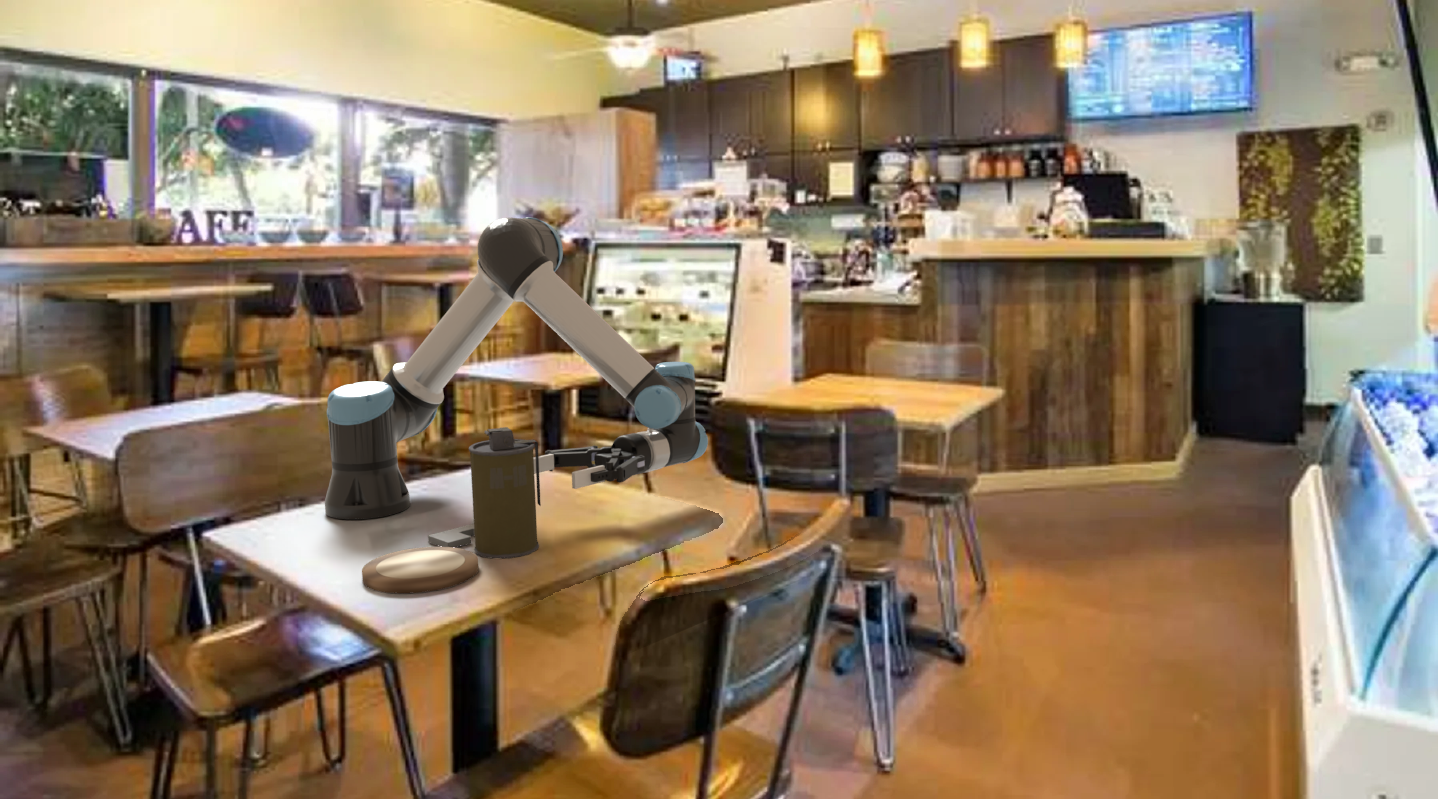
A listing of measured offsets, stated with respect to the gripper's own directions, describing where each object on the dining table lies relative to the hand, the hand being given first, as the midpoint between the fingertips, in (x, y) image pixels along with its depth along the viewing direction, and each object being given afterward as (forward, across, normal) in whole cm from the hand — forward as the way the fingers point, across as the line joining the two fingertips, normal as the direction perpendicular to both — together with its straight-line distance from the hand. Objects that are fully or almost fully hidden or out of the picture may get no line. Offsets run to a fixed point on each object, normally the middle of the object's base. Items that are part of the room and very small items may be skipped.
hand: (547, 474), depth 168 cm
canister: (+8, 0, +11) cm, 14 cm away
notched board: (+10, -10, +11) cm, 18 cm away
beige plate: (+24, 0, +11) cm, 27 cm away
